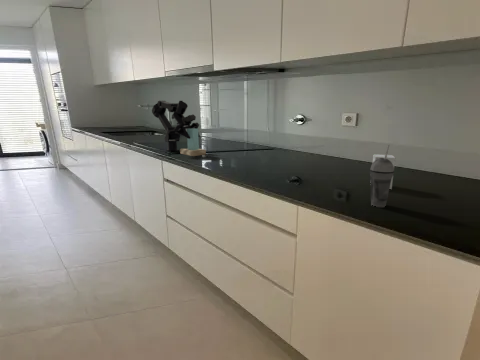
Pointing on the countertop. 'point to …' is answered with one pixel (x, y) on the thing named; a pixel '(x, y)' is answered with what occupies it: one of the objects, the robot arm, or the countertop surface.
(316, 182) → the countertop surface
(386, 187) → the beverage cup
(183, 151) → the birch base block
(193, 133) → the teal tall block
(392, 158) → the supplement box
